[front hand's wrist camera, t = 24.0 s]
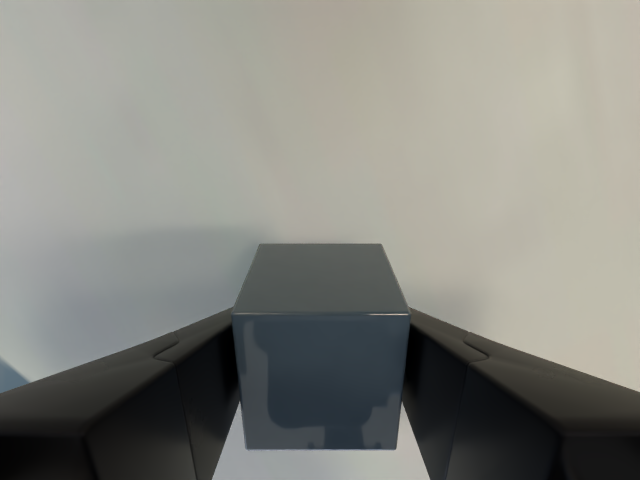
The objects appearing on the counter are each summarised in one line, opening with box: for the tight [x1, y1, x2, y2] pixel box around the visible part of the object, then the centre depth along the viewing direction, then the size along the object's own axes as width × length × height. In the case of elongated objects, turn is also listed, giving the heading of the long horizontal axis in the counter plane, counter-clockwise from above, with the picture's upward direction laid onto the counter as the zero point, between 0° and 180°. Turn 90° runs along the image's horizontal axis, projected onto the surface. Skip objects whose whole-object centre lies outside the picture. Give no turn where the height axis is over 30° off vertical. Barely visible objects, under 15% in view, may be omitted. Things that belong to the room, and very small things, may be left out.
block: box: [231, 244, 411, 450], centre depth 11 cm, size 4×4×4 cm
